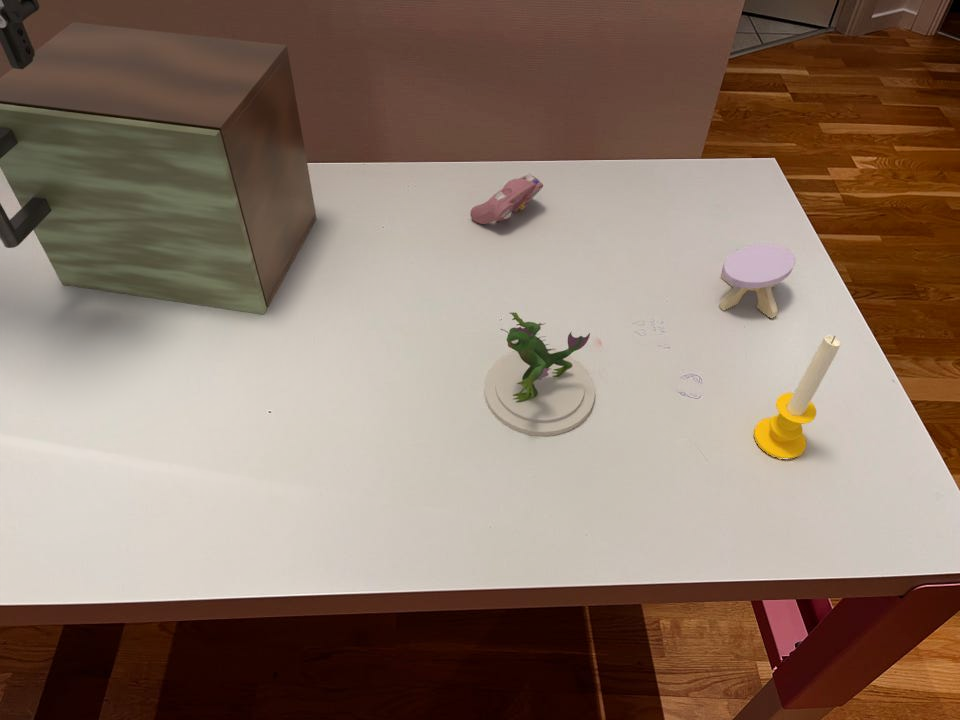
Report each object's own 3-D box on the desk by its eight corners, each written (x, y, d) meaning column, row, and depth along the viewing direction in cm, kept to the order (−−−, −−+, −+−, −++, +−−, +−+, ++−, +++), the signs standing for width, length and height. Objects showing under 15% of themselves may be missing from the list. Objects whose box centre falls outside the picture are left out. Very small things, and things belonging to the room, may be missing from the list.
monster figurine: (480, 354, 85) (482, 287, 77) (583, 350, 85) (596, 283, 78) (488, 439, 77) (492, 373, 69) (603, 433, 77) (618, 368, 70)
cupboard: (268, 308, 89) (220, 127, 71) (68, 278, 92) (-26, 97, 74) (317, 219, 101) (287, 45, 83) (138, 195, 104) (73, 21, 86)
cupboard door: (241, 355, 83) (183, 175, 66) (29, 322, 86) (-80, 141, 69) (267, 308, 89) (219, 130, 71) (66, 279, 91) (-27, 100, 74)
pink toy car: (486, 241, 101) (506, 213, 95) (465, 216, 101) (483, 186, 95) (533, 209, 106) (554, 181, 100) (512, 186, 106) (532, 156, 100)
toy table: (731, 330, 88) (744, 294, 84) (692, 281, 94) (704, 246, 90) (800, 312, 90) (817, 277, 86) (759, 266, 96) (773, 231, 92)
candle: (784, 414, 80) (839, 310, 68) (815, 452, 76) (878, 349, 65) (743, 427, 78) (792, 323, 67) (772, 466, 75) (830, 363, 64)
